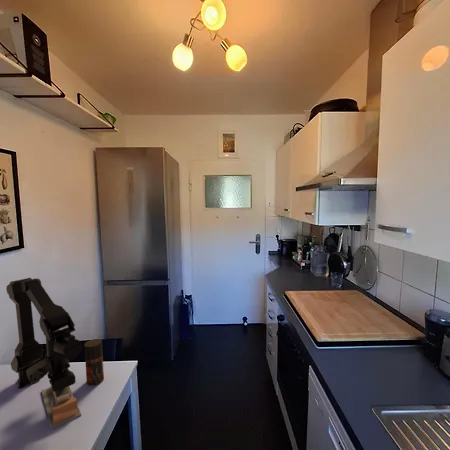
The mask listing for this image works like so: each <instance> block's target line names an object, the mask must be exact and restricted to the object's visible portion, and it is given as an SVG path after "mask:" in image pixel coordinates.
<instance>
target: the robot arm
mask: <svg viewBox="0 0 450 450" xmlns="http://www.w3.org/2000/svg"><path fill="white" fill-rule="evenodd" d="M6 294H7V295H8V298H9V299H10V300H11V301H12V302H13V303H14V304H15V311H16V312H15V313H16V322H17V331H18V343H17V346H16V347H15V349H14V357H13V359H12V360H11V362H10V367H11V370H12V371H13V372H15V373H16V374H17V373H18V379H17V380H16V381H17V388H18V389H21V388H24V387H27V386H29V385H33V384H35V383H37V382H40V380H41V379H43V378H44V377H45V376H47V378H48V381H49V384H50V387H51V388H52V391H53V392H55V391H58V390H60V389H63V388H65V387H68V386H69V387H70V386H73V385H74V384H76V376H75V374H74V372H73V371H72V370H69V368H71V364H70V362H69V361H70V360H74V359H76V357H78V356H79V355H80V354H81V352H82V350H83V343H82V341H81V340H79V339H77V338H76V336H75V335H74V334H72V333H73V332H75V331H76V328H75V325H76V324H75V323H74V320H73V319H72V317H71V315H70V314H69V312H68V311H66V309H65V308H64V307H63V306H61V305H58V304H56V303H55V302H54V301H53V300H52V298H51V297H50V295H49V294H48V292H47V291H46V289H45V288H44V287H43V285H42V281H41V280H40V278H32V277H27V278H22V279H17V280H14V281H12V280H11V281H10V282H9V284H8V285H6ZM32 304H33V306H34V307H35V309H36V310H37V312H38V314H39V316H40V317H39V321H38V322H39V327H40V329H41V331H42V333H43V335H44V337H45V343H46V344H45V345H46V353H45V355H44V349H43V347H42V344H41V343H39V341H37V340H36V339H35V327H34V326H35V325H34V317H33V308H32ZM43 357H45V358H43Z"/></svg>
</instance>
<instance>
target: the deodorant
mask: <svg viewBox="0 0 450 450" xmlns="http://www.w3.org/2000/svg"><path fill="white" fill-rule="evenodd" d="M103 353H104V352H103V341H102V339H100V338H94V339H90V340H87V341H86V342H85V343H84V359H85V363H84V364H85V377H86V385H87V386H90V387H94V386H98V385H100V384H102V383H103V382H104V381H105V374H104V355H103Z"/></svg>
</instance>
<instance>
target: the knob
mask: <svg viewBox="0 0 450 450" xmlns="http://www.w3.org/2000/svg"><path fill="white" fill-rule="evenodd" d="M72 394H73V392H72V393H71V394H70V392H69V389H68V387H65V388H63V389H60V390H58V391H55V400H54V401H52V402H51V407H54V406H57V405H59V404H61V403H64V402H66V401H68V400H71V399H73V398H75V396H74V394H73V395H72ZM73 396H74V397H73Z"/></svg>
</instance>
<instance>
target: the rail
mask: <svg viewBox="0 0 450 450" xmlns="http://www.w3.org/2000/svg"><path fill="white" fill-rule="evenodd" d="M68 389H69V392H70V394H71V393H72V395H73V397H74V398H73V399H71V400H68V401H66V402H64V403H61V404H59V405H57V406H54V407H51V402H52V401H54V400H55V392H53V391H52V388H51V386H49V387H47V388H44V389H41V394H42V398H43V402H44V406H45V410H46V413H47V416H48V417H47V418H48V422H49V426H50V429H51V430H54V429H56V428H58V427H60V426H63V425H64V424H66V423H69V422H71V421H73V420H75V419H77V418H80V417H81V416H82V413H81V411H80V408H79V406H78V400H77V397H75V396H74V394H73V392H72V389H71V388H70V386H68Z"/></svg>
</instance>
